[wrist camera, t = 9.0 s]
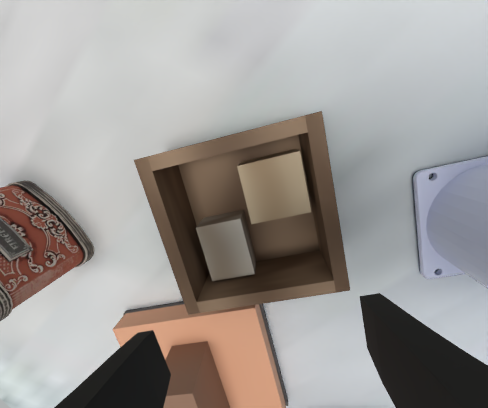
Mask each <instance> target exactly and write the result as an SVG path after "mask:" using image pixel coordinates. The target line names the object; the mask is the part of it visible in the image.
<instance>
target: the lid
mask: <svg viewBox="0 0 488 408" xmlns="http://www.w3.org/2000/svg"><path fill="white" fill-rule="evenodd" d="M151 330H153V331H154V333H155V336H156V338H157V341H158V343H159V346H160V348H161V351H162V353H163V356H164V358H165V361H166V363H167V365H168V368H169V370H170V373H171V377H170V382H169V386H168V391H167V395H166V399H165V403H164V407H163V408H286V405H285V399H284V395H283V392H282V388H281V384H280V380H279V377H278V373H277V369H276V365H275V362H274V358H273V354H272V351H271V347H270V343H269V339H268V336H267V332H266V328H265V324H264V321H263V317H262V313H261V309H260V306H259V304H256V305H250V306H243V307H236V308H230V309H223V310H217V311H210V312H203V313H197V314H190V315H188V313H187V310H186V307H185V304H182V305H176V306H170V307H163V308H157V309H151V310H145V311H138V312H132V313H126V314H125V315H124V316H123V317H122V318H121V320H120V321H119V322H118V323H117V325H116V326H115V327H114V328H113V331H114V333H115V335H116V338H117V340H118V342H119V344H120V347H122V346H123V345H124V344H125V343H126V342H127V341H128V340H129V339H131V338H132V337H133V336H134V335H135V334H137V333H138V332H145V331H151Z"/></svg>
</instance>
